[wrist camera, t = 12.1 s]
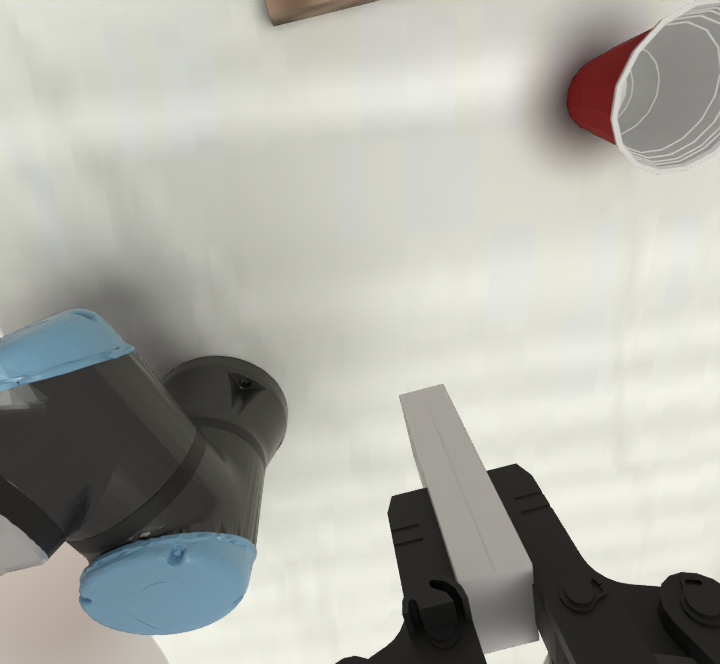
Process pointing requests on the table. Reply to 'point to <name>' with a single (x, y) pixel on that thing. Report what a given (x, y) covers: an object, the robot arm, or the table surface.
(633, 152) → the plastic cup
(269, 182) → the table surface
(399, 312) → the table surface
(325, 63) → the table surface
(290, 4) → the walnut rest
